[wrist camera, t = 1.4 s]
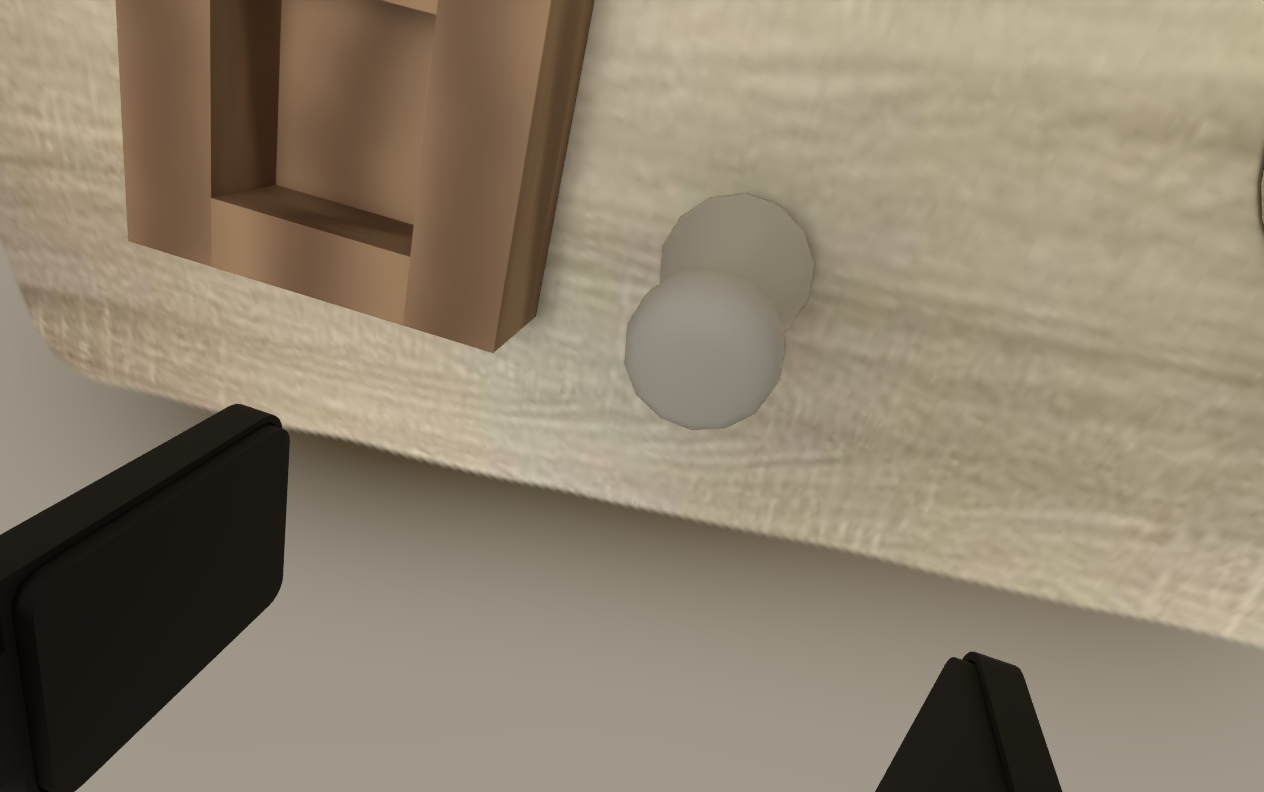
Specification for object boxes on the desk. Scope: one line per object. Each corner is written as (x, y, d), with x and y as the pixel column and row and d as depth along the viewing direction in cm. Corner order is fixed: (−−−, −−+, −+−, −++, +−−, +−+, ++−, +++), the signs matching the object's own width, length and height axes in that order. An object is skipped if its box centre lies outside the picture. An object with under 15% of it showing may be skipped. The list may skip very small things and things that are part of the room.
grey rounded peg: (759, 352, 33) (728, 506, 21) (645, 279, 33) (550, 394, 21) (843, 235, 30) (861, 337, 19) (720, 156, 30) (660, 208, 18)
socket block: (600, -34, 28) (559, -55, 24) (535, 316, 34) (493, 353, 30) (213, -129, 30) (107, -166, 26) (214, 220, 36) (128, 241, 32)
